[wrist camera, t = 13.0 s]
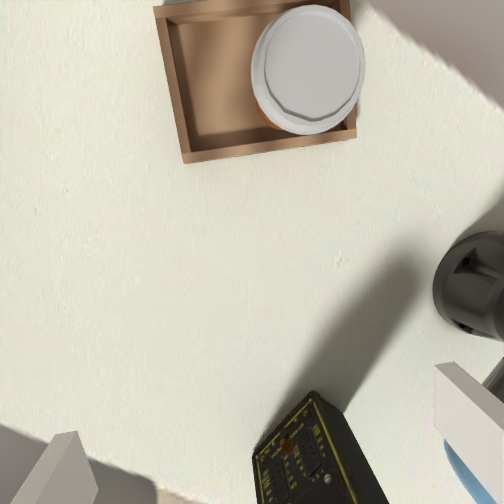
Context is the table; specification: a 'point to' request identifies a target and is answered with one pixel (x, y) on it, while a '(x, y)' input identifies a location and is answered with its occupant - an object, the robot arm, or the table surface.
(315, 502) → the voltmeter
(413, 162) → the table surface
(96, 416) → the table surface
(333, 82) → the disposable coffee cup
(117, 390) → the table surface
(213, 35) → the trough tray
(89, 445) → the table surface
